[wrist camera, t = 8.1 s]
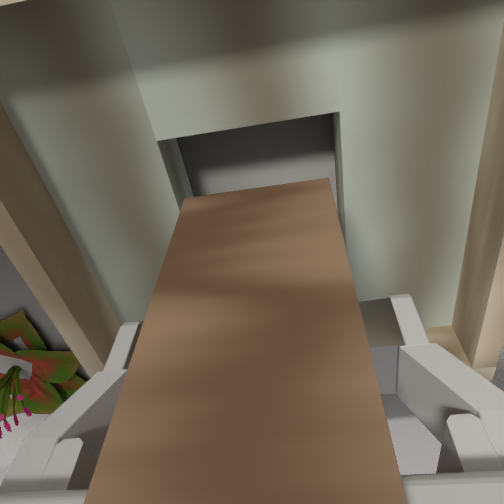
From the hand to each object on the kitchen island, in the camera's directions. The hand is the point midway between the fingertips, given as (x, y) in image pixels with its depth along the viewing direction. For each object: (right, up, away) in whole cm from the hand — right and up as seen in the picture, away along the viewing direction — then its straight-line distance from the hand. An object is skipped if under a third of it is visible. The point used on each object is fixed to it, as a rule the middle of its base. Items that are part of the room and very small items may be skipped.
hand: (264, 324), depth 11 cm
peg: (0, +2, +3) cm, 4 cm away
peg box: (0, +5, +7) cm, 9 cm away
